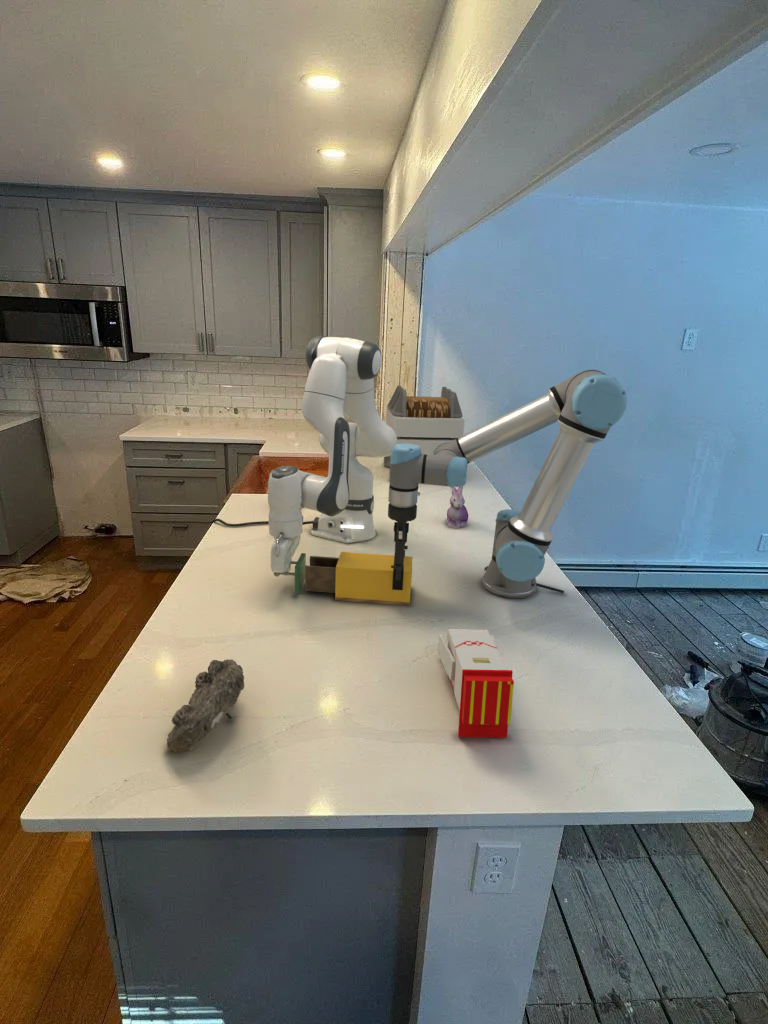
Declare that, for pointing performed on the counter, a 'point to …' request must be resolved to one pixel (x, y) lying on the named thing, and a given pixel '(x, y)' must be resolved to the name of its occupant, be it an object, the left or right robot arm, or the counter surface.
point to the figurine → (457, 509)
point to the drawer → (314, 574)
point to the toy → (478, 682)
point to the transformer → (424, 420)
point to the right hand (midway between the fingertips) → (398, 580)
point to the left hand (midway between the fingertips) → (286, 572)
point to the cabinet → (371, 579)
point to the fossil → (206, 705)
